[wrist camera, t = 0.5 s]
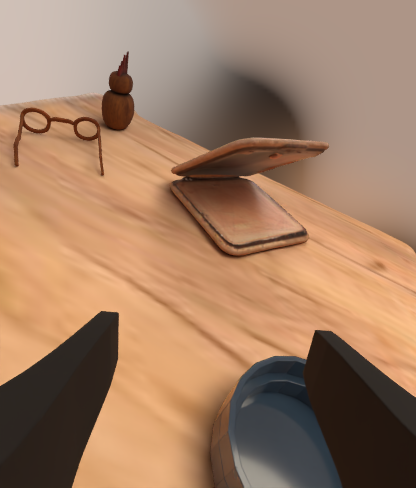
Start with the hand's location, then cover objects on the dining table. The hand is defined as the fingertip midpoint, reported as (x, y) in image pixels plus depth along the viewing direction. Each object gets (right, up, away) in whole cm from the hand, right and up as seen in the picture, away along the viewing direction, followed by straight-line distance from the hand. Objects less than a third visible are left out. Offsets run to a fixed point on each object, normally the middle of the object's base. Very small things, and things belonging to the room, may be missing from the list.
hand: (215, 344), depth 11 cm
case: (+5, +9, +45) cm, 46 cm away
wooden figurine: (-21, +30, +59) cm, 69 cm away
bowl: (+6, -15, +15) cm, 22 cm away
